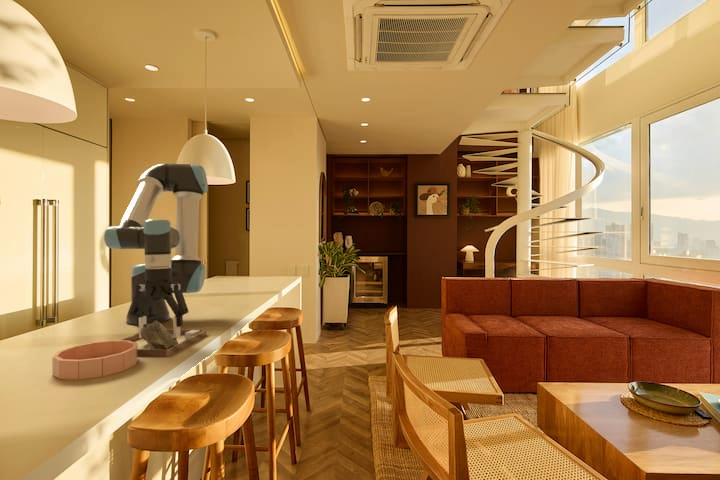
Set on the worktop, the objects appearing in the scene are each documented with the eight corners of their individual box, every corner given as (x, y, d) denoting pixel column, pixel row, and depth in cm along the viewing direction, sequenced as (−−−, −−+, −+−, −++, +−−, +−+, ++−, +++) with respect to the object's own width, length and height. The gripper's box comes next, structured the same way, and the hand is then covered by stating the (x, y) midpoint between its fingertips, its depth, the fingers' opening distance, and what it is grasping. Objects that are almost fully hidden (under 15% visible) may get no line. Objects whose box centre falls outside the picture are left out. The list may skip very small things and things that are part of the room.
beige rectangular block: (192, 336, 129) (192, 329, 129) (200, 337, 128) (200, 330, 128) (185, 340, 125) (184, 332, 125) (193, 340, 124) (193, 333, 124)
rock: (182, 341, 119) (169, 350, 109) (167, 353, 119) (152, 364, 109) (159, 314, 118) (143, 321, 108) (143, 326, 118) (126, 335, 108)
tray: (148, 334, 131) (148, 329, 131) (206, 335, 130) (206, 330, 130) (97, 354, 108) (97, 348, 108) (167, 356, 107) (167, 350, 107)
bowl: (92, 355, 108) (92, 339, 108) (151, 356, 106) (151, 341, 106) (34, 378, 90) (34, 359, 90) (104, 380, 89) (104, 361, 89)
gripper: (115, 269, 116) (116, 340, 116) (187, 268, 114) (188, 339, 114) (131, 267, 123) (132, 334, 123) (199, 266, 122) (200, 333, 122)
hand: (159, 337), depth 119 cm, fingers open, 11 cm apart
